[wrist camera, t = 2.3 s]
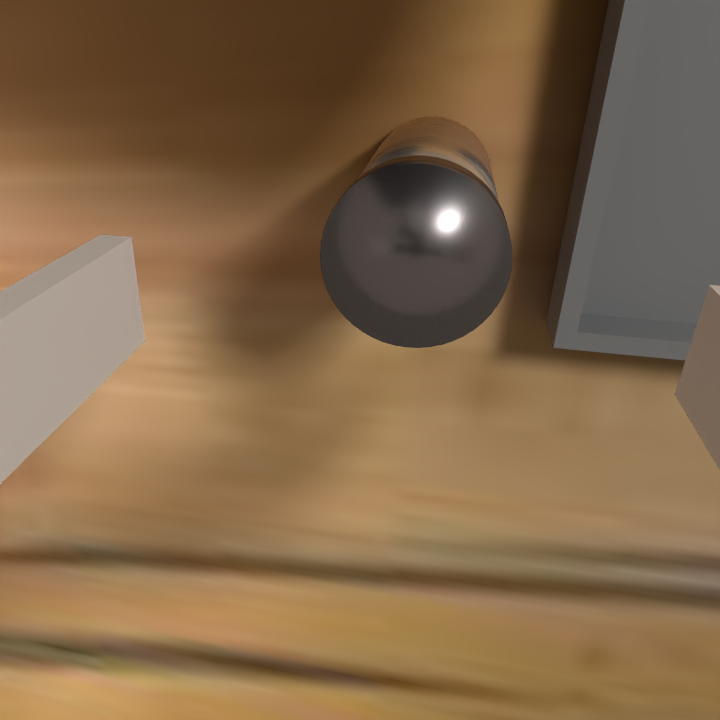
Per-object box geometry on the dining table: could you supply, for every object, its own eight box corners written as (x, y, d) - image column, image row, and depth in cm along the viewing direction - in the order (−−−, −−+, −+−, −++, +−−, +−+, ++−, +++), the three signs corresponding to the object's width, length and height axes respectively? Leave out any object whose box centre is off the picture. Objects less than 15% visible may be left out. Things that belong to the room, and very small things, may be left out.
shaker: (370, 110, 25) (321, 157, 16) (502, 118, 25) (526, 171, 16) (365, 237, 28) (319, 338, 19) (485, 246, 27) (497, 356, 18)
